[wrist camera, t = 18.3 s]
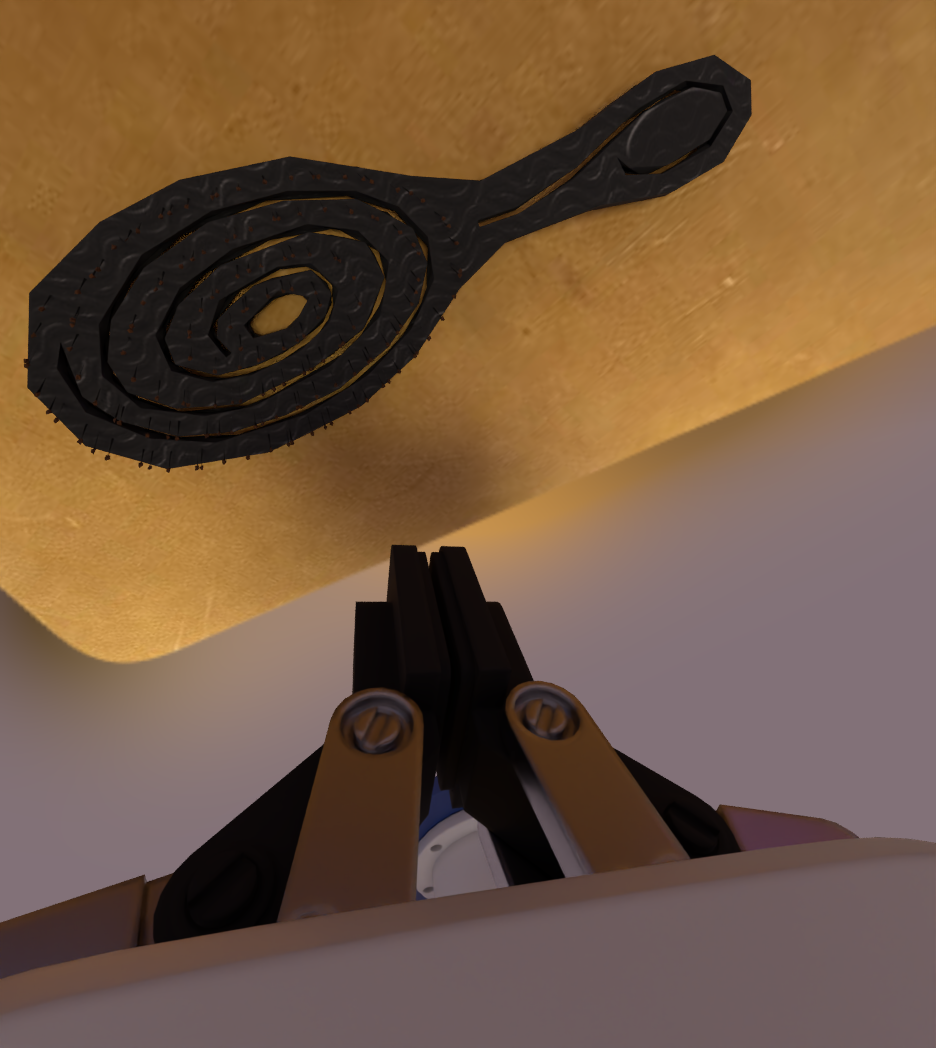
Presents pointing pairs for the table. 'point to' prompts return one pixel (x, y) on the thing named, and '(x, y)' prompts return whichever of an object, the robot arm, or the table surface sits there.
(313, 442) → the table surface
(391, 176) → the hairbrush
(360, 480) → the table surface
